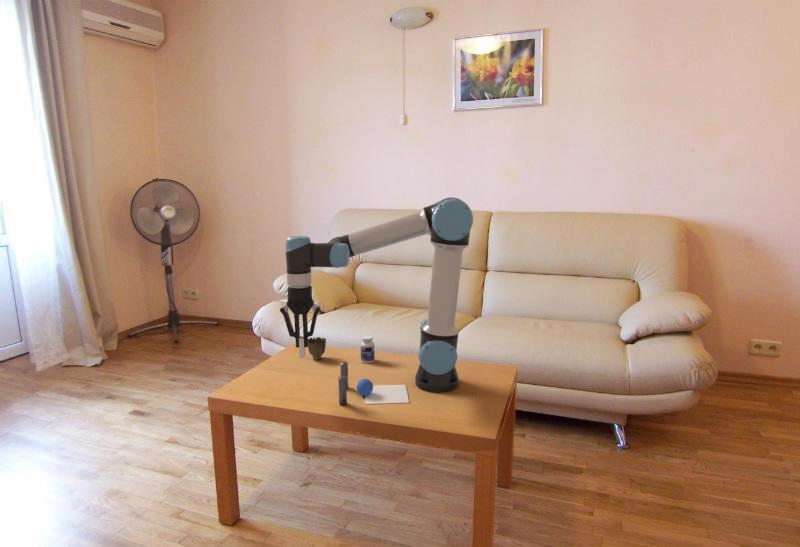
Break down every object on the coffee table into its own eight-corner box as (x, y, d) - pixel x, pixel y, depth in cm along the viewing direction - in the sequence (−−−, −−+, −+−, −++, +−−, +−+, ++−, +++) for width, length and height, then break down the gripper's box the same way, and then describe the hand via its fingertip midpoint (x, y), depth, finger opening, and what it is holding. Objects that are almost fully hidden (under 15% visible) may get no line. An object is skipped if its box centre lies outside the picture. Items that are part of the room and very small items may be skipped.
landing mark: (405, 385, 176) (405, 384, 176) (409, 402, 163) (409, 402, 163) (365, 386, 175) (365, 385, 175) (365, 404, 162) (365, 403, 162)
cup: (324, 362, 198) (324, 342, 197) (306, 362, 198) (305, 342, 197) (327, 355, 206) (327, 336, 204) (309, 355, 206) (309, 336, 204)
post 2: (347, 402, 163) (346, 375, 162) (346, 405, 161) (346, 378, 159) (339, 402, 163) (338, 375, 161) (338, 405, 161) (338, 378, 159)
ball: (357, 392, 171) (373, 390, 171) (357, 399, 166) (374, 397, 166) (355, 377, 170) (372, 375, 170) (355, 383, 165) (372, 381, 165)
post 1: (348, 386, 175) (347, 361, 174) (348, 389, 173) (347, 364, 171) (341, 386, 175) (340, 361, 174) (340, 389, 173) (340, 364, 171)
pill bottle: (359, 362, 197) (358, 338, 196) (363, 358, 203) (362, 334, 201) (372, 364, 196) (372, 339, 194) (376, 359, 201) (375, 335, 200)
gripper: (321, 282, 164) (323, 352, 169) (280, 283, 163) (283, 353, 168) (319, 287, 157) (321, 360, 161) (276, 288, 156) (280, 361, 160)
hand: (302, 356), depth 165 cm, fingers closed
